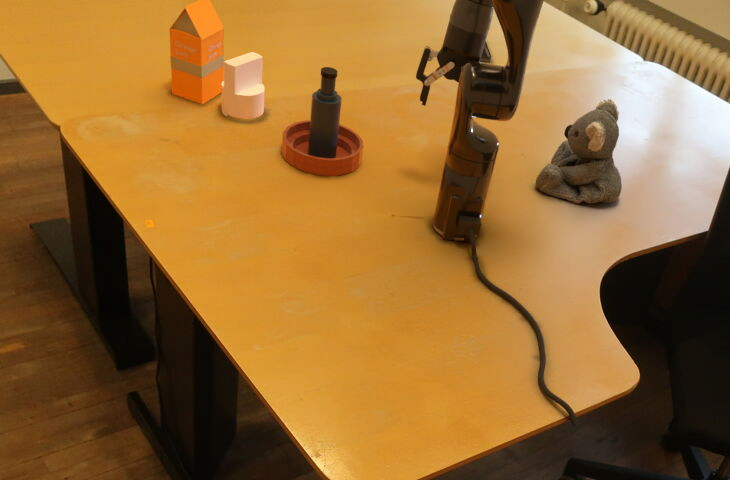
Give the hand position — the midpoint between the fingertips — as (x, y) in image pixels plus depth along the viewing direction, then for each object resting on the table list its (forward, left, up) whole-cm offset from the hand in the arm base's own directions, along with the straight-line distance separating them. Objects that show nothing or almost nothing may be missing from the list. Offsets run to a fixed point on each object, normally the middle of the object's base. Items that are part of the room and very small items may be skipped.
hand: (444, 110), depth 162 cm
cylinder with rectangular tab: (+25, +39, -18) cm, 50 cm away
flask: (+8, +22, -17) cm, 29 cm away
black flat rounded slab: (+78, -21, -17) cm, 83 cm away
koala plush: (+6, -35, -18) cm, 40 cm away
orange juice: (+32, +49, -18) cm, 62 cm away
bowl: (+8, +22, -18) cm, 30 cm away
